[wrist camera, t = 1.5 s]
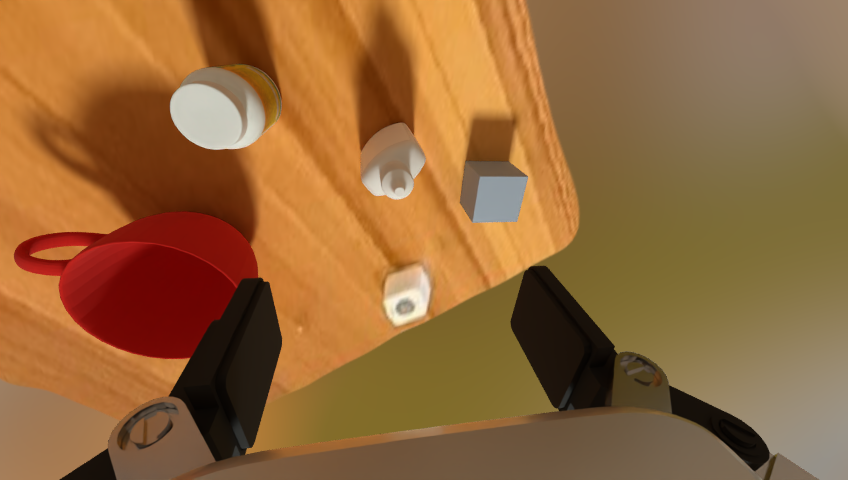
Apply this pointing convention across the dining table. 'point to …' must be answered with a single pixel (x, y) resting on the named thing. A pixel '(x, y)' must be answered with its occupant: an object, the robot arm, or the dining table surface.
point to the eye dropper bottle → (391, 161)
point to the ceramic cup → (148, 279)
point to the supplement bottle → (225, 106)
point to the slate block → (492, 191)
